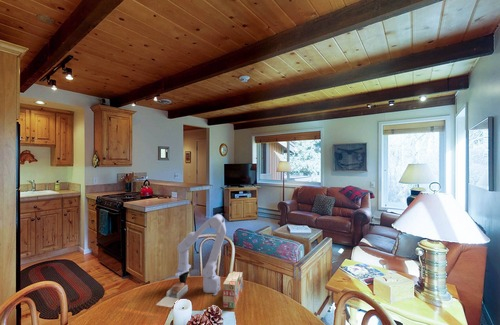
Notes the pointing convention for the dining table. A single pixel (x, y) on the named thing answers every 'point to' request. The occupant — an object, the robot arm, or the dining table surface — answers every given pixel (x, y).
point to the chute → (172, 297)
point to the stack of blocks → (232, 289)
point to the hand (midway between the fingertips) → (183, 285)
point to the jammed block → (177, 287)
